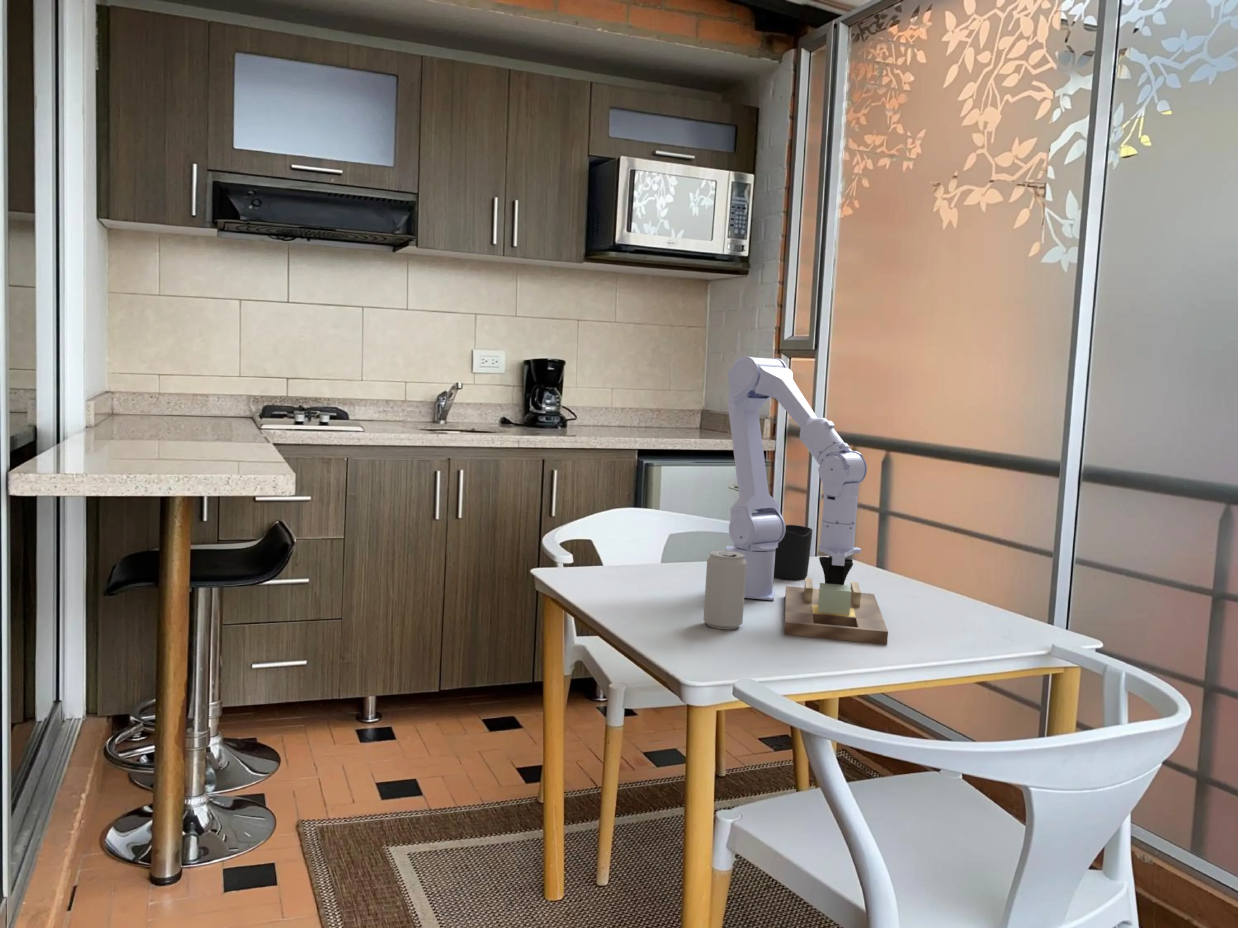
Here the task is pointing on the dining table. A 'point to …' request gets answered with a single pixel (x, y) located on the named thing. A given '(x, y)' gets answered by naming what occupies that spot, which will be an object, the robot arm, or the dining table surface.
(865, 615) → the deck
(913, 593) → the dining table surface
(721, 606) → the beverage can
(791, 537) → the pen holder
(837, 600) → the block
